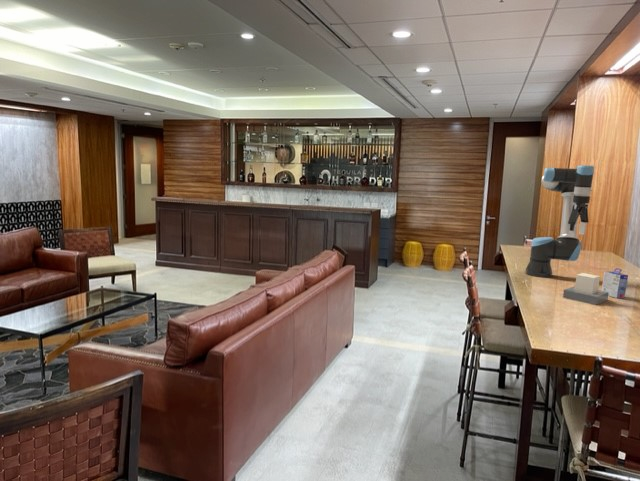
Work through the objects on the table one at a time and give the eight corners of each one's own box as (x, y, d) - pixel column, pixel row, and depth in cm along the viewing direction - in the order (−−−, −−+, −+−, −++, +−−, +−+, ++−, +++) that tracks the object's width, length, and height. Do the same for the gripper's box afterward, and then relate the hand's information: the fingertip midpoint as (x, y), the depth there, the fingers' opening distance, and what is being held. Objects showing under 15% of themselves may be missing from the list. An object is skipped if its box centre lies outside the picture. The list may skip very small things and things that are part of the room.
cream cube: (580, 288, 234) (582, 272, 232) (598, 291, 228) (600, 276, 226) (574, 290, 229) (576, 274, 227) (591, 293, 223) (594, 278, 221)
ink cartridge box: (625, 298, 233) (629, 270, 231) (617, 298, 232) (621, 270, 229) (608, 293, 242) (612, 266, 240) (600, 293, 241) (604, 266, 239)
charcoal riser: (575, 293, 239) (576, 285, 239) (607, 299, 228) (608, 292, 228) (562, 297, 229) (563, 289, 229) (595, 304, 218) (596, 296, 217)
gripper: (580, 196, 225) (574, 239, 229) (598, 195, 241) (593, 234, 245) (564, 195, 231) (559, 236, 235) (583, 193, 247) (578, 232, 251)
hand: (576, 235), depth 240 cm, fingers open, 13 cm apart
